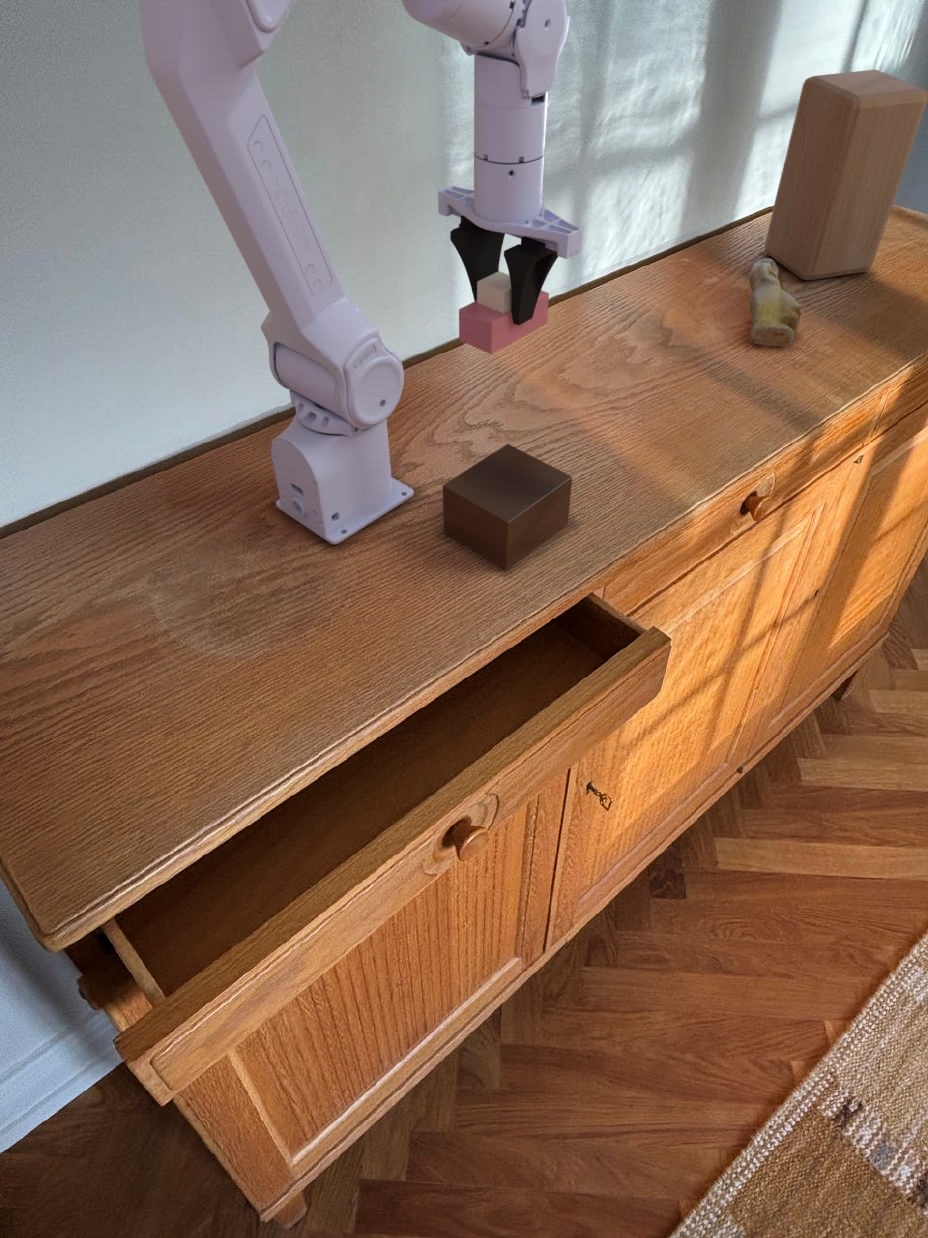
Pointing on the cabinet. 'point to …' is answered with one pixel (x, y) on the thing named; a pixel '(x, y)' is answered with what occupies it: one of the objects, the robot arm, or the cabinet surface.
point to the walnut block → (506, 505)
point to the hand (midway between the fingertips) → (504, 312)
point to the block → (842, 171)
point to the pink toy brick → (497, 315)
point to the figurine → (771, 307)
